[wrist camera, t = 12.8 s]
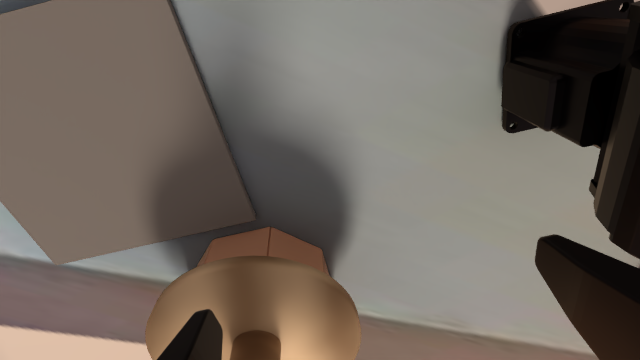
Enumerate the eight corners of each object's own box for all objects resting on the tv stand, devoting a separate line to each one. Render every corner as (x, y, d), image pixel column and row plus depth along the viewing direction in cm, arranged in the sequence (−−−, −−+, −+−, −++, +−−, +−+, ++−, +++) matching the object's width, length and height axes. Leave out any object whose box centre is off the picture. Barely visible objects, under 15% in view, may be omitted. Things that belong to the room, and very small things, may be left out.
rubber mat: (159, -27, 16) (155, -28, 15) (256, 216, 23) (255, 220, 23) (-120, 48, 17) (-131, 49, 16) (60, 260, 24) (55, 265, 24)
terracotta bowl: (312, 217, 24) (315, 260, 20) (340, 312, 29) (347, 361, 25) (172, 248, 24) (148, 297, 20) (224, 336, 29) (213, 388, 25)
